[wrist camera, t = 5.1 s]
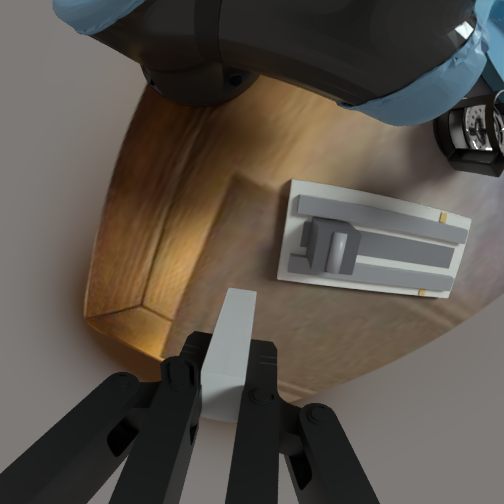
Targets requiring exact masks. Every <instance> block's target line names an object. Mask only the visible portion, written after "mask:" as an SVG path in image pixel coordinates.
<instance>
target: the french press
mask: <svg viewBox="0 0 504 504" xmlns="http://www.w3.org/2000/svg"><path fill="white" fill-rule="evenodd" d="M501 92H502V93H504V90H498V91H494V92H493V93H491V94H487V95H481V96H476V97H471V98H462V99H461V100H460V101H459V102H458V103H457V104H456V105H454V106H453V107H452V108H451V109H449V110H448V111H446V112H445V113H443V114H442V115H440V116H438V117H437V118H435V119H434V121H433V127H434V134H435V138H436V141H437V144H438V146H439V148H440V150H441V151H442V153H443V154H444V155H445V156H446V157H447V161H448V162H449V163H450V165H451V166H452V167H453V168H454V169H455V170H459V171H465V172H471V173H477V174H483V175H488V176H494V177H499V176H500V175H501V174H502V172H503V170H504V122H503V119H502V117H501V115H504V103H498V104H495V101H496V98H497V97H498V95H499V94H500V93H501ZM456 109H461V110H463V113H462V129H463V134H464V138H465V141H466V144H467V146H468V148H469V149H464V148H455V146H454V144H453V142H452V139H451V135H450V130H449V115H450V111H451V110H456Z"/></svg>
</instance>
